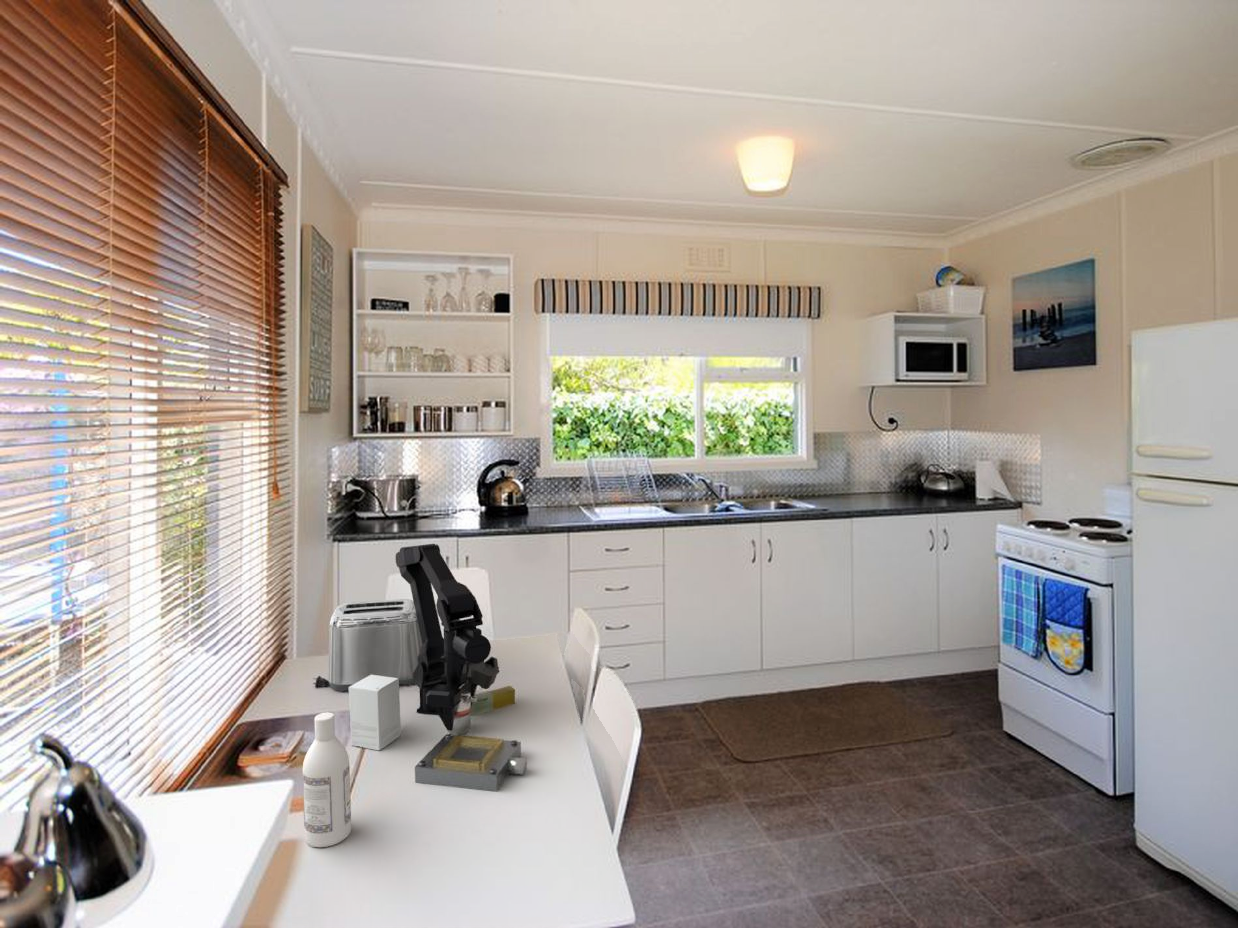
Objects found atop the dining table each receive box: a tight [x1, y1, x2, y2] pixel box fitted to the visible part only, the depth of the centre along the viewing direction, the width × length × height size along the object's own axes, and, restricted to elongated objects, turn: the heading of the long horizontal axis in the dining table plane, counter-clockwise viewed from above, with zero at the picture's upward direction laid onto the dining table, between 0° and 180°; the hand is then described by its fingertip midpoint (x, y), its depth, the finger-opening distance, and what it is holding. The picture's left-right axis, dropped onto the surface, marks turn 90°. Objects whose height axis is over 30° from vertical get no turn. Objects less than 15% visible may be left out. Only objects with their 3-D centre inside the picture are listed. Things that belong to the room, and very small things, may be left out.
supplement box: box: [348, 675, 402, 751], centre depth 143 cm, size 7×7×13 cm
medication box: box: [471, 685, 516, 717], centre depth 159 cm, size 12×3×4 cm, turn 126°
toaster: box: [312, 598, 422, 693], centre depth 176 cm, size 17×30×19 cm, turn 104°
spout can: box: [446, 689, 478, 736], centre depth 148 cm, size 7×5×8 cm
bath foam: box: [301, 711, 352, 848], centre depth 110 cm, size 7×7×20 cm
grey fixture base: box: [414, 733, 528, 792], centre depth 131 cm, size 19×13×4 cm
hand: (459, 720), depth 148 cm, fingers open, 9 cm apart
